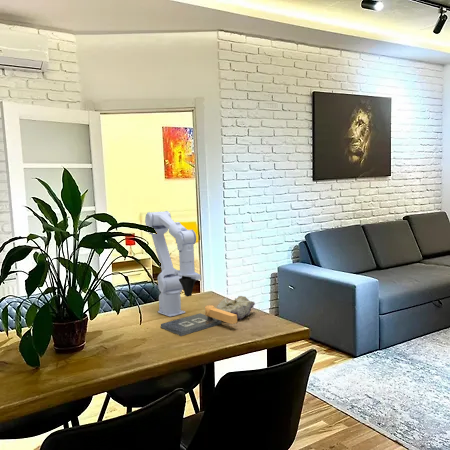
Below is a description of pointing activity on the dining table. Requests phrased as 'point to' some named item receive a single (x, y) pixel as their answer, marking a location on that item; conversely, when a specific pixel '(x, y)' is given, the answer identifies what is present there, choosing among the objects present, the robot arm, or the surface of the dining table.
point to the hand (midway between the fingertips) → (188, 295)
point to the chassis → (190, 324)
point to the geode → (237, 306)
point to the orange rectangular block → (220, 314)
